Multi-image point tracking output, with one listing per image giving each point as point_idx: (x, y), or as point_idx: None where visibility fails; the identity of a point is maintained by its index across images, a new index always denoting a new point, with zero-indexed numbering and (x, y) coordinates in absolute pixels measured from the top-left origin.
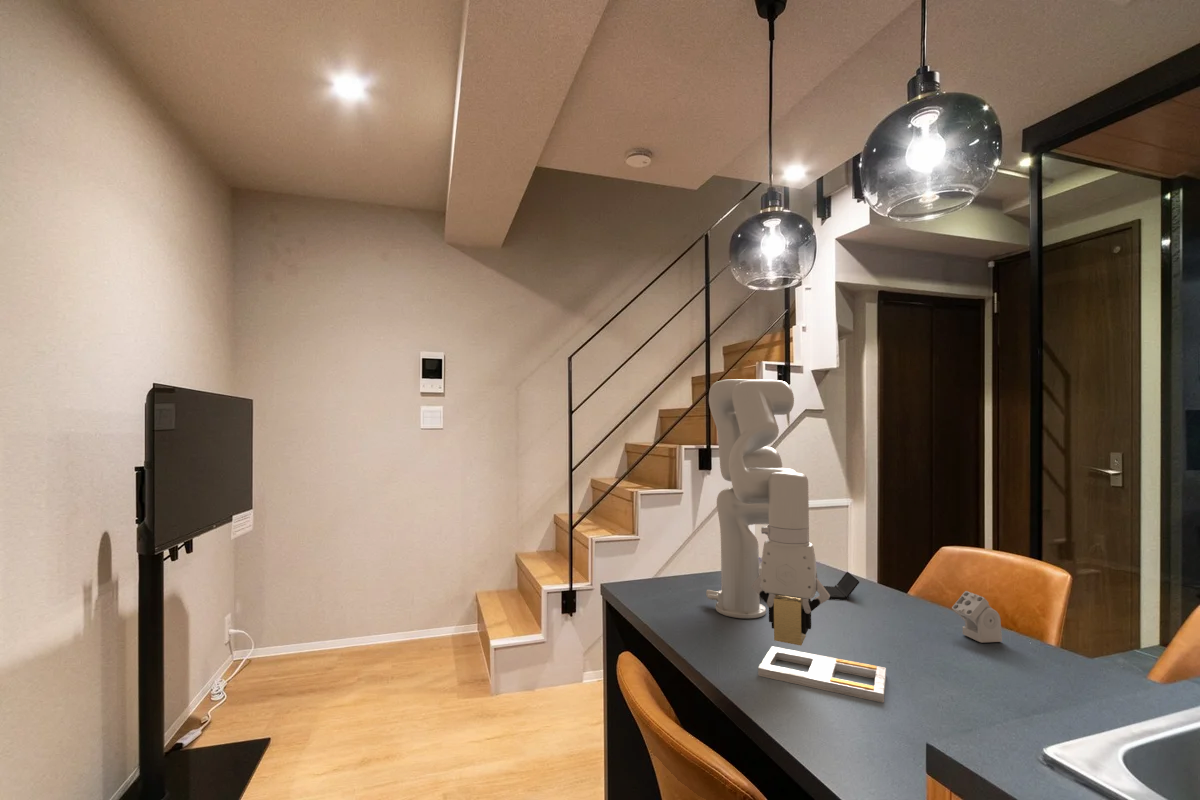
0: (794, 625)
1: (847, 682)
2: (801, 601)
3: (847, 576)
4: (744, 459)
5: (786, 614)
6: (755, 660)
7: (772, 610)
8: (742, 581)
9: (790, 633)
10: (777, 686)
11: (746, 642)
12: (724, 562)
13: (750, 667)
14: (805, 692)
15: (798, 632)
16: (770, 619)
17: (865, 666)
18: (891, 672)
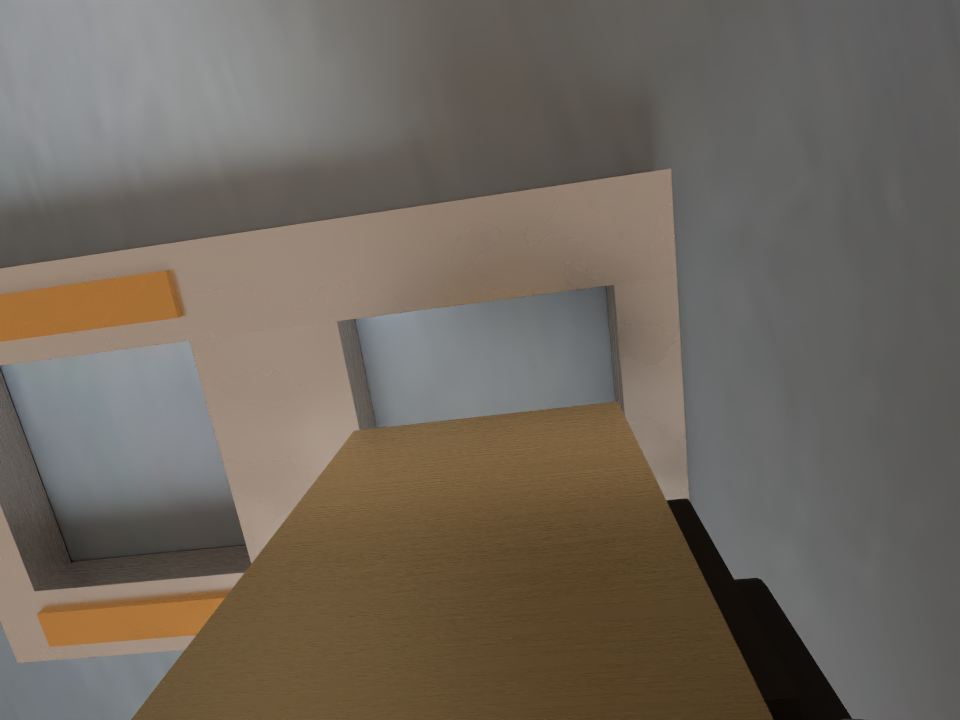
0: (365, 520)
1: (66, 303)
2: None
3: None
4: None
5: (459, 603)
6: (749, 415)
7: (759, 660)
8: None
9: (439, 462)
10: (484, 88)
11: (888, 658)
12: None
13: (747, 280)
14: (302, 122)
15: (341, 484)
16: (745, 591)
17: (92, 608)
18: (54, 683)
